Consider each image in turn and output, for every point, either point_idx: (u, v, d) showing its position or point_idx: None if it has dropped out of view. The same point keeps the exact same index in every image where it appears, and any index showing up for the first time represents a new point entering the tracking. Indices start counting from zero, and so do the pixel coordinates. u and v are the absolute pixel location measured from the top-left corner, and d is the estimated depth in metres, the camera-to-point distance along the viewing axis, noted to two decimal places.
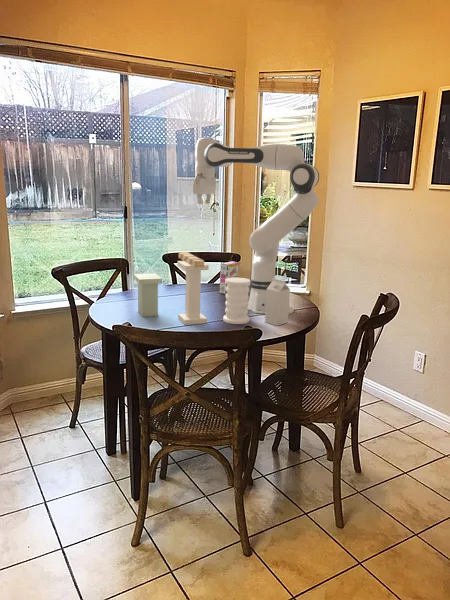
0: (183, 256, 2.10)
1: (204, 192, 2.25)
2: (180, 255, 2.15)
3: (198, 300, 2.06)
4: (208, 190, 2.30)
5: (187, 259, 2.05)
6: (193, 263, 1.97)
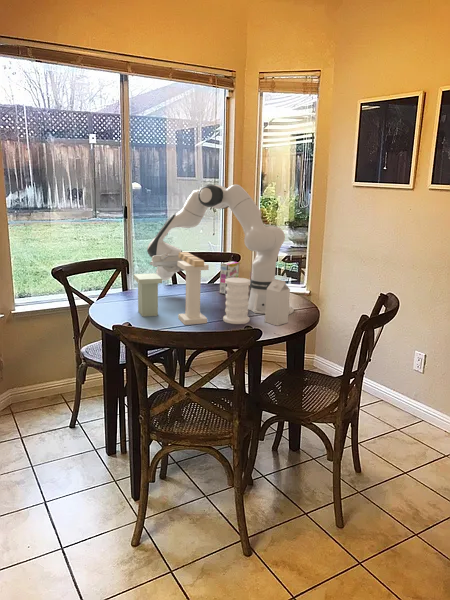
0: (183, 256, 2.10)
1: None
2: (180, 255, 2.15)
3: (198, 300, 2.06)
4: None
5: (187, 259, 2.05)
6: (193, 263, 1.97)
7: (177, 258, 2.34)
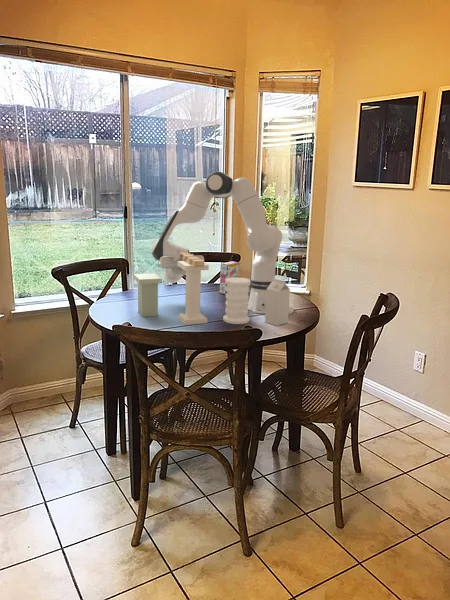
0: (183, 256, 2.10)
1: None
2: None
3: (198, 300, 2.06)
4: None
5: (187, 259, 2.05)
6: (193, 263, 1.97)
7: None
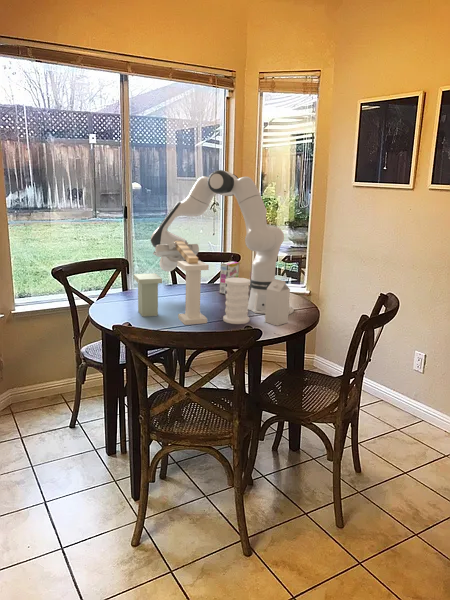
0: (178, 247, 2.16)
1: None
2: None
3: (198, 300, 2.06)
4: None
5: (182, 252, 2.11)
6: (187, 259, 2.04)
7: None
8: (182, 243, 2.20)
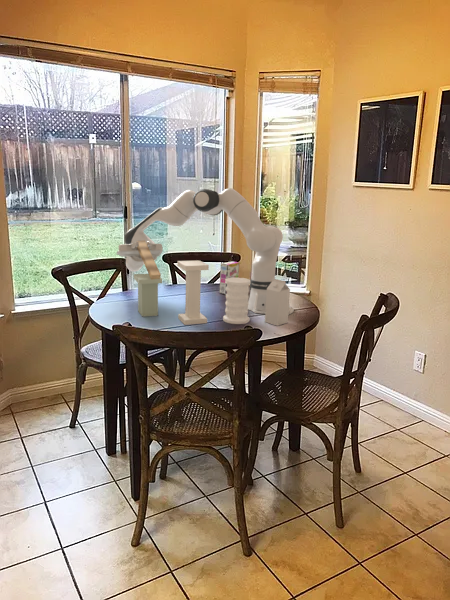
0: (141, 252, 2.18)
1: None
2: (138, 246, 2.21)
3: (198, 300, 2.06)
4: None
5: (144, 262, 2.14)
6: (150, 275, 2.09)
7: None
8: (144, 246, 2.21)
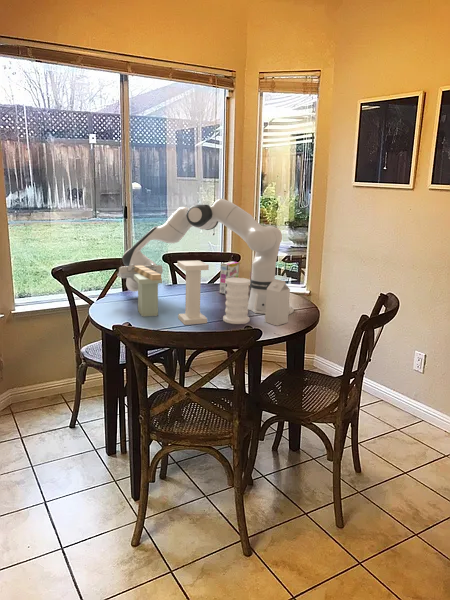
0: (139, 269, 2.19)
1: None
2: (135, 268, 2.23)
3: (198, 300, 2.06)
4: None
5: (144, 273, 2.14)
6: (151, 277, 2.07)
7: None
8: (142, 266, 2.24)
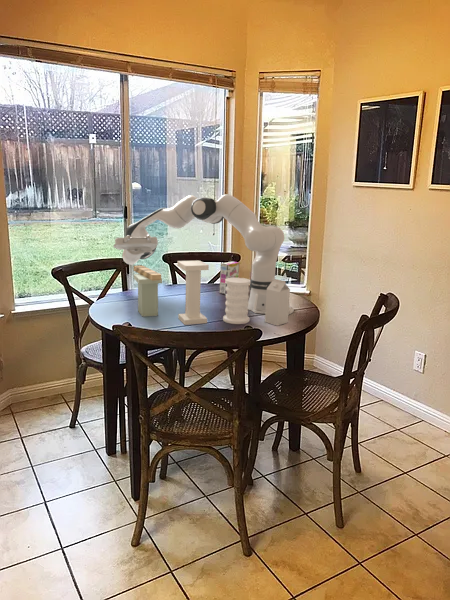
0: (139, 269, 2.19)
1: None
2: (135, 268, 2.23)
3: (198, 300, 2.06)
4: None
5: (144, 273, 2.14)
6: (151, 277, 2.07)
7: (141, 240, 2.34)
8: (142, 266, 2.24)
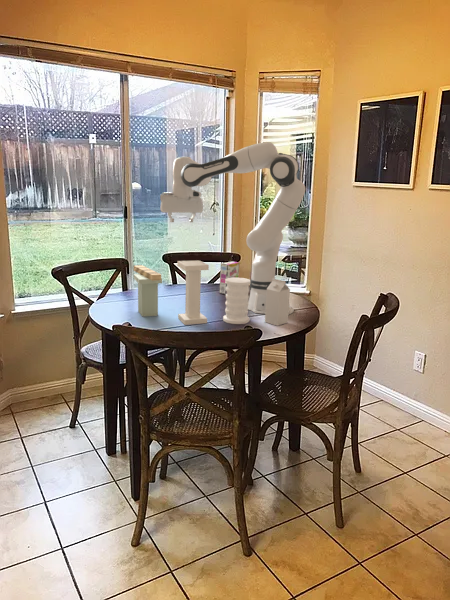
0: (139, 269, 2.19)
1: (174, 210, 2.27)
2: (135, 268, 2.23)
3: (198, 300, 2.06)
4: (184, 209, 2.29)
5: (144, 273, 2.14)
6: (151, 277, 2.07)
7: None
8: (142, 266, 2.24)
